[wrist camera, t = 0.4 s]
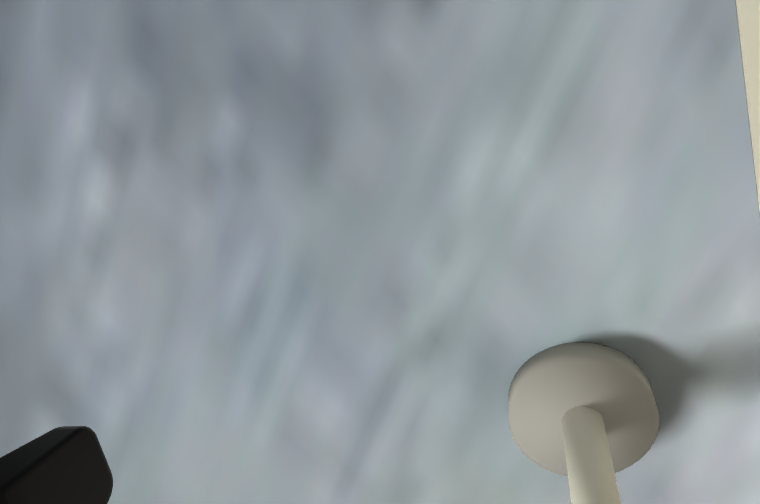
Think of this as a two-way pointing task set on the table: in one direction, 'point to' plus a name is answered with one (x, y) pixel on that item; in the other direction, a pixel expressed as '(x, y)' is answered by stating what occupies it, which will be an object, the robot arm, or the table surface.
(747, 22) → the breaker board
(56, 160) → the table surface
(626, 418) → the cable post
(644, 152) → the table surface
